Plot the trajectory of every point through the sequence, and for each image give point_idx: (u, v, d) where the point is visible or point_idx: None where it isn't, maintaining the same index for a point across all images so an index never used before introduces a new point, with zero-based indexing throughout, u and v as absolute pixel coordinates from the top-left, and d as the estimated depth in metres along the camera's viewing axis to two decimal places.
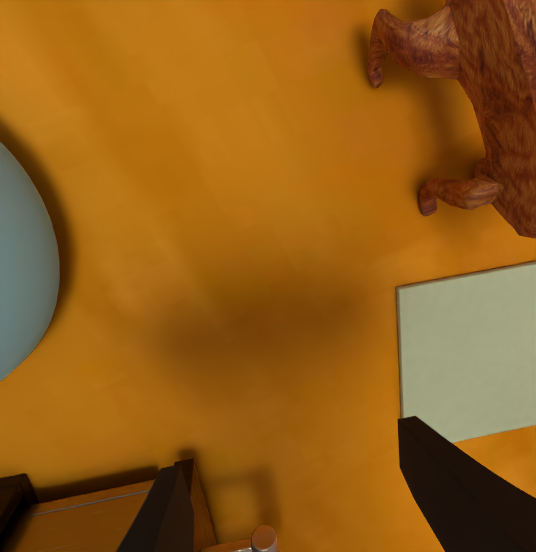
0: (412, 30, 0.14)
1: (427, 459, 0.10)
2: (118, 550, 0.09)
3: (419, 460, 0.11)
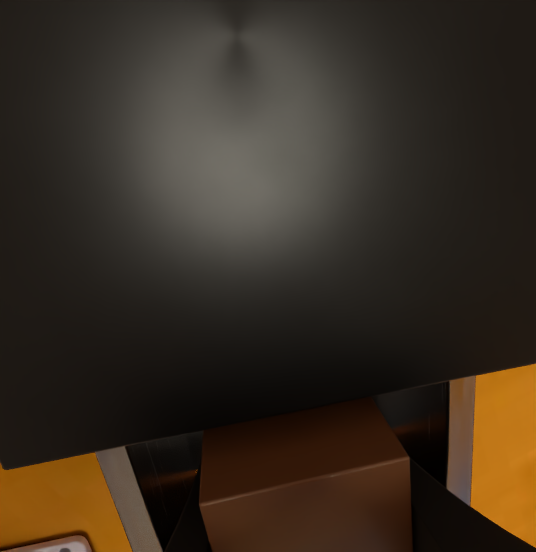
0: None
1: None
2: (173, 538, 0.09)
3: None
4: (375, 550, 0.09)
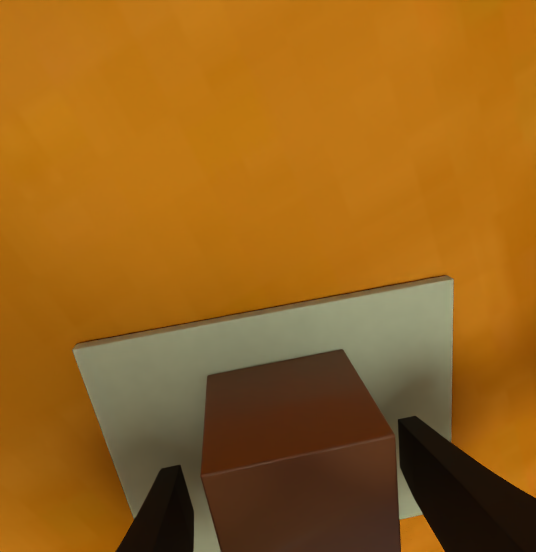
0: None
1: (426, 458, 0.10)
2: (118, 550, 0.09)
3: (419, 460, 0.11)
4: (364, 522, 0.09)
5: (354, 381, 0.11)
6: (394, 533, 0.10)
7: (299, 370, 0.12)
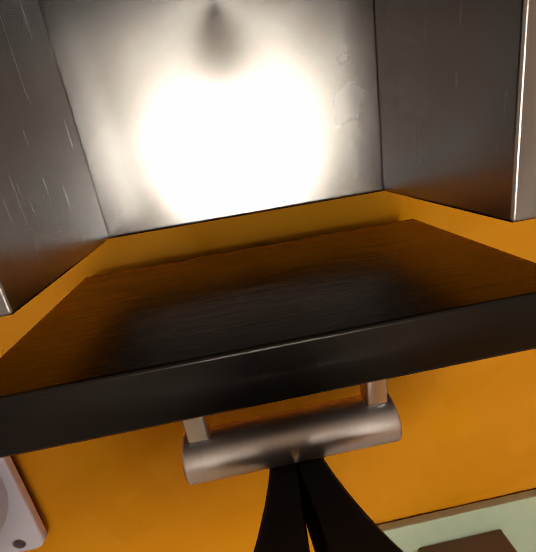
0: None
1: (304, 485, 0.10)
2: (266, 518, 0.09)
3: (301, 485, 0.11)
4: None
5: None
6: None
7: (480, 550, 0.19)
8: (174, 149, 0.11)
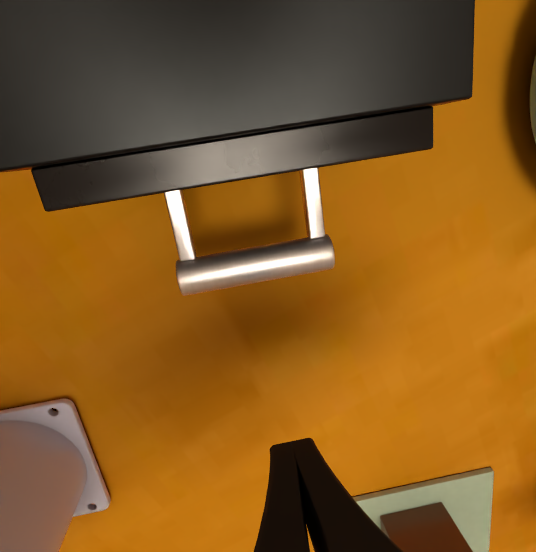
0: None
1: (304, 485, 0.10)
2: (265, 518, 0.09)
3: (301, 485, 0.11)
4: None
5: (453, 526, 0.25)
6: None
7: (425, 516, 0.26)
8: None
